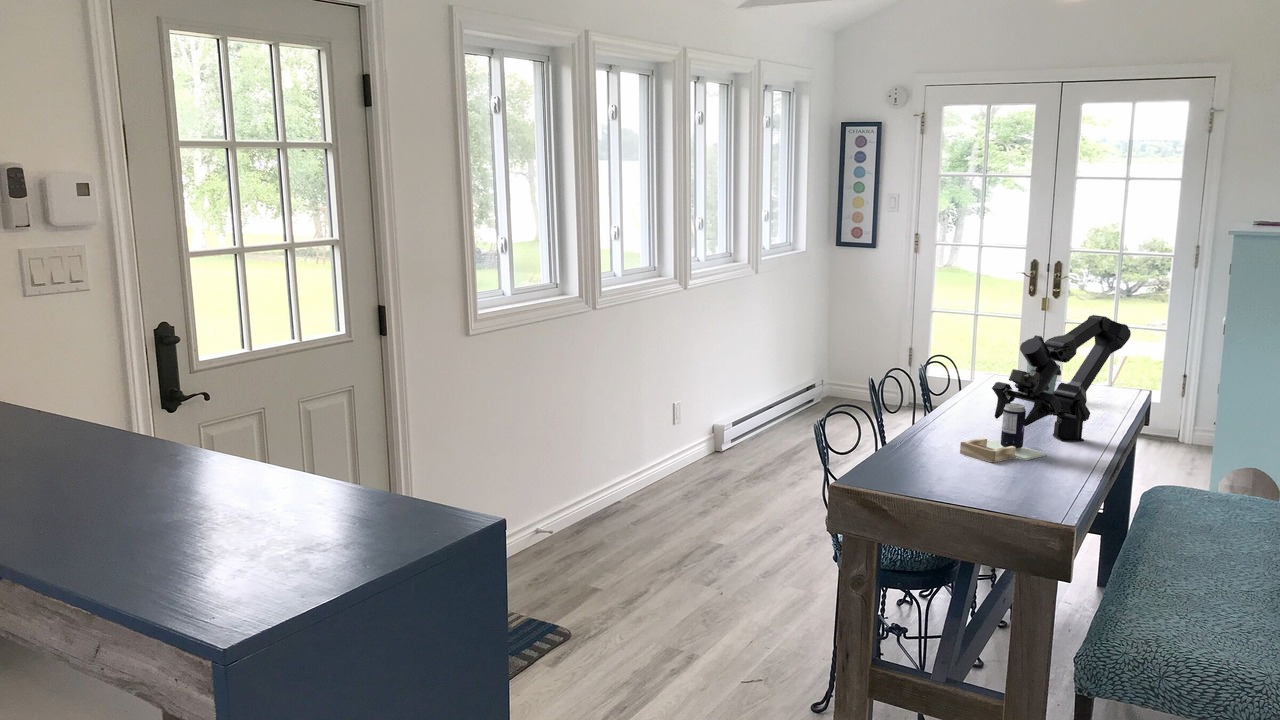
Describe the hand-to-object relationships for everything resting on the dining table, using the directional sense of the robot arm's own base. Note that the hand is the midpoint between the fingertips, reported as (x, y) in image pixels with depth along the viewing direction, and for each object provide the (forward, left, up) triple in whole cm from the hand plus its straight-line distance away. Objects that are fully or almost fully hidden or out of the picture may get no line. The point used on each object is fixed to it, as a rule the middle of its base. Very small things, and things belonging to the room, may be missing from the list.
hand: (1009, 421), depth 264 cm
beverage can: (-1, -1, -8) cm, 8 cm away
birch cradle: (+7, +4, -8) cm, 11 cm away
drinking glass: (-37, -64, -9) cm, 75 cm away
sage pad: (-1, -1, -8) cm, 8 cm away
